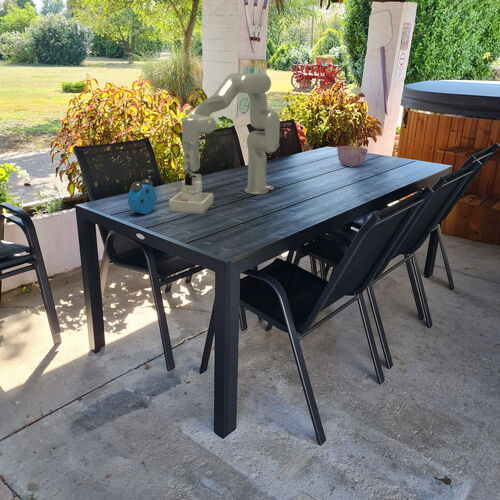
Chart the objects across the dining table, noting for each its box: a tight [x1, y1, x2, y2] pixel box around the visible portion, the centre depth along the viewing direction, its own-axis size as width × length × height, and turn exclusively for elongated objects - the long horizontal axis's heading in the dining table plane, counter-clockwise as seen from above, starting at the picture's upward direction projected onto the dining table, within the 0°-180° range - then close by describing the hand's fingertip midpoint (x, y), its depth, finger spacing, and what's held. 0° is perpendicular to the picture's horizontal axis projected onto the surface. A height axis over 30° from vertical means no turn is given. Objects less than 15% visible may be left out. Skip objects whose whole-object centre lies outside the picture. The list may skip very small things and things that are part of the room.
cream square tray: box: [168, 190, 214, 215], centre depth 234 cm, size 16×18×5 cm
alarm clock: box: [127, 178, 158, 215], centre depth 222 cm, size 13×6×15 cm, turn 151°
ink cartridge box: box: [181, 172, 203, 203], centre depth 232 cm, size 9×5×15 cm, turn 73°
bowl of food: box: [336, 145, 368, 167], centre depth 331 cm, size 20×20×12 cm
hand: (191, 182), depth 231 cm, fingers open, 9 cm apart
